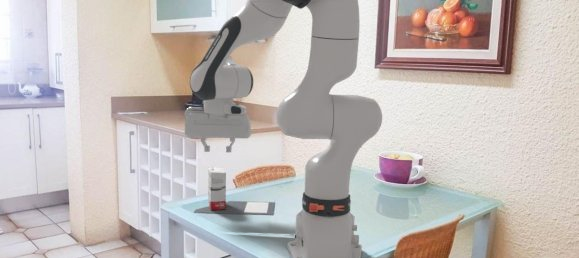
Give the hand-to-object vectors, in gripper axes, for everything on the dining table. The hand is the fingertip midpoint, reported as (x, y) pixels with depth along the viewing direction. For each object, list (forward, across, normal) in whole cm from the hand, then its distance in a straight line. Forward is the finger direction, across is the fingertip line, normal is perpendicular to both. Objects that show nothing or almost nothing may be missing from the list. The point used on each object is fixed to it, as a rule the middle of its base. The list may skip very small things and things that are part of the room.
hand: (217, 151), depth 143 cm
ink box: (+18, 0, 0) cm, 18 cm away
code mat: (+18, +6, 0) cm, 18 cm away
